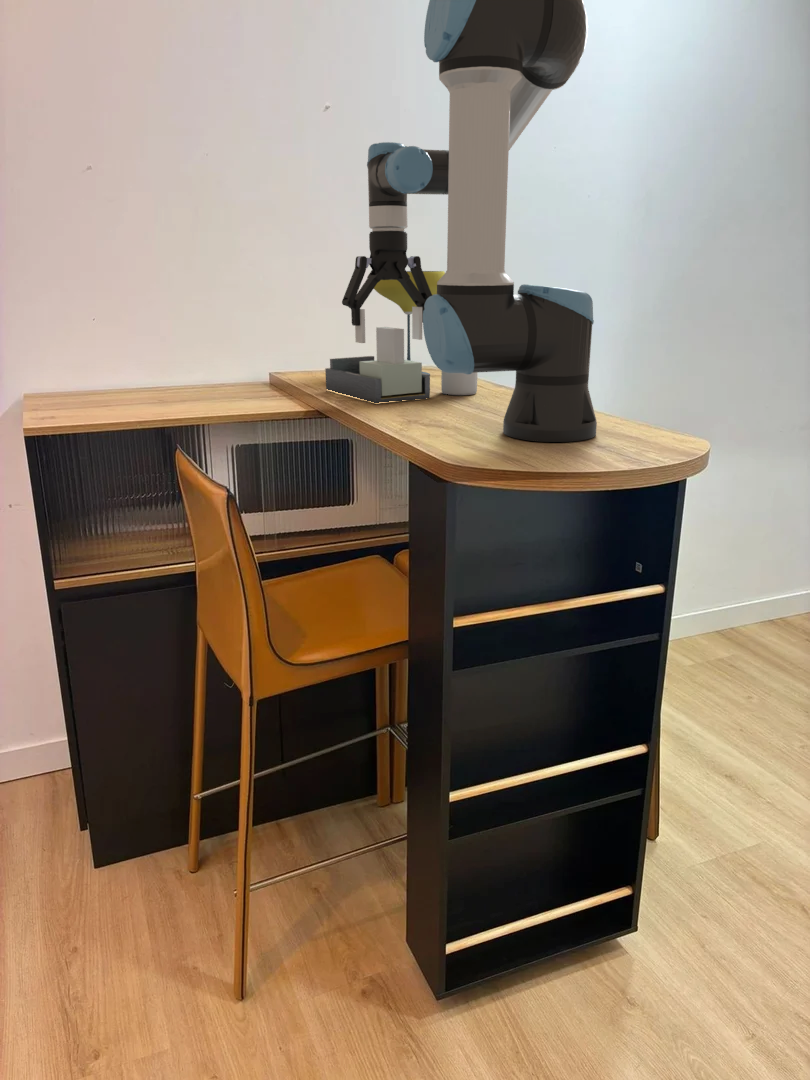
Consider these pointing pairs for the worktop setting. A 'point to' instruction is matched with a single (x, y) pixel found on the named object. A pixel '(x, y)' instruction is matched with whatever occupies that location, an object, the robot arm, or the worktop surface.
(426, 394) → the bay
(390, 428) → the worktop surface
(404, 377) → the block with upright handle
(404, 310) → the cocktail glass
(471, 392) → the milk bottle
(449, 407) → the worktop surface
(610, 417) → the worktop surface
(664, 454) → the worktop surface
